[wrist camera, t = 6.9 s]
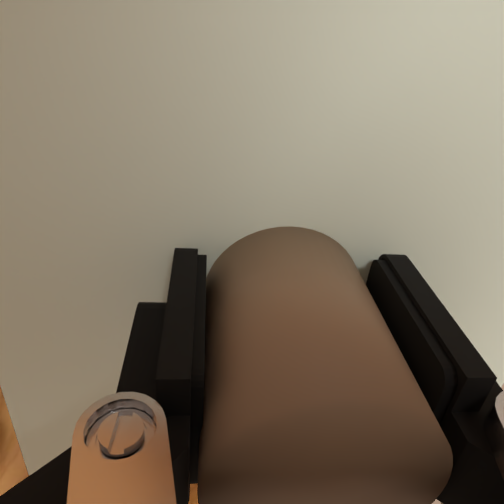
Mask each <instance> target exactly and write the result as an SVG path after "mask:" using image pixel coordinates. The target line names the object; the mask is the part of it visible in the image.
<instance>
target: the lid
mask: <svg viewBox="0 0 504 504" xmlns="http://www.w3.org/2000/svg"><path fill="white" fill-rule="evenodd" d="M175 248H197V249H198V255H207V269H206V321H205V371H204V403H203V427H202V430H201V432H200V439H199V458H198V492H197V493H198V503H199V504H432V503H433V502H434V501H435V499H436V498H437V497H438V496H439V495H440V494H441V492H442V491H443V489H444V488H445V486H446V484H447V482H448V480H449V478H450V475H451V471H452V467H453V455H452V450H451V446H450V444H449V442H448V441H447V439H446V437H445V435H444V433H443V431H442V429H441V427H440V425H439V423H438V421H437V419H436V418H435V416H434V414H433V412H432V410H431V408H430V406H429V404H428V402H427V400H426V399H425V397H424V395H423V393H422V391H421V389H420V387H419V385H418V383H417V381H416V380H415V378H414V376H413V374H412V372H411V370H410V368H409V366H408V364H407V362H406V360H405V359H404V357H403V355H402V353H401V351H400V349H399V347H398V345H397V343H396V341H395V340H394V338H393V336H392V334H391V332H390V330H389V328H388V326H387V324H386V322H385V320H384V319H383V317H382V315H381V313H380V311H379V309H378V307H377V305H376V303H375V301H374V300H373V298H372V296H371V294H370V292H369V290H368V288H367V286H366V281H367V278H368V274H369V270H370V267H371V264H372V262H373V260H378V259H379V257H380V256H381V255H382V254H399V255H406V256H407V257H408V258H409V259H410V260H411V262H412V263H413V264H414V266H415V267H416V269H417V270H418V271H419V273H420V274H421V275H422V277H423V278H424V279H425V281H426V282H427V283H428V285H429V286H430V287H431V289H432V290H433V292H434V293H435V294H436V296H437V297H438V298H439V300H440V301H441V302H442V304H443V305H444V306H445V308H446V309H447V310H448V312H449V313H450V315H451V316H452V317H453V319H454V320H455V321H456V323H457V324H458V325H459V327H460V328H461V329H462V331H463V332H464V334H465V335H466V336H467V338H468V339H469V340H470V342H471V343H472V344H473V346H474V347H475V348H476V350H477V351H478V352H479V354H480V355H481V357H482V358H483V359H484V361H485V362H486V363H487V365H488V366H489V367H490V369H491V370H492V371H493V373H494V374H495V376H496V377H497V379H496V382H497V383H498V384H499V386H500V387H502V385H503V383H504V0H0V386H1V389H2V392H3V396H4V399H5V402H6V405H7V408H8V411H9V414H10V418H11V421H12V424H13V427H14V430H15V433H16V436H17V440H18V443H19V446H20V449H21V452H22V455H23V458H24V462H25V465H26V468H27V471H28V474H29V475H31V474H33V473H34V472H36V471H37V470H38V469H40V468H41V467H43V466H44V465H45V464H47V463H48V462H50V461H51V460H53V459H54V458H55V457H57V456H58V455H60V454H61V453H63V452H64V451H65V450H67V449H68V448H70V447H71V446H72V437H73V432H74V429H75V425H76V422H77V421H78V419H79V418H80V416H81V415H82V413H83V412H84V411H85V410H86V409H87V408H88V407H90V406H91V405H92V404H93V403H94V402H96V401H98V400H100V399H102V398H103V397H105V396H108V395H111V394H115V393H116V391H117V387H118V383H119V378H120V374H121V370H122V366H123V362H124V357H125V353H126V349H127V345H128V341H129V337H130V332H131V328H132V324H133V320H134V316H135V311H136V308H137V304H138V303H139V302H167V297H168V290H169V284H170V277H171V270H172V263H173V256H174V250H175Z"/></svg>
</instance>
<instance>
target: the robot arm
mask: <svg viewBox="0 0 504 504" xmlns="http://www.w3.org/2000/svg"><path fill="white" fill-rule="evenodd" d="M206 269H207V255H198V249H197V248H175V250H174V256H173V263H172V270H171V277H170V284H169V290H168V297H167V302H139V303H138V304H137V308H136V311H135V316H134V320H133V324H132V328H131V332H130V337H129V341H128V345H127V349H126V353H125V357H124V362H123V366H122V370H121V374H120V378H119V383H118V387H117V391H116V393H115V394H111V395H108V396H105V397H103V398H102V399H100V400H98V401H96V402H94V403H93V404H92V405H91V406H90V407H88V408H87V409H86V410H85V411H84V412H83V413H82V415H81V416H80V418H79V419H78V421H77V422H76V425H75V429H74V432H73V437H72V446H71V447H70V448H68V449H67V450H65V451H64V452H63V453H61V454H60V455H58V456H57V457H55V458H54V459H53V460H51V461H50V462H48V463H47V464H45V465H44V466H43V467H41V468H40V469H38V470H37V471H36V472H34V473H33V474H31V475H30V476H28V477H27V478H26V479H24V480H23V481H21V482H20V483H18V484H17V485H16V486H14V487H13V488H11V489H10V490H8V491H7V492H6V493H4V494H3V495H1V496H0V504H188V501H189V493H190V484H196V483H198V458H199V439H200V432H201V430H202V427H203V403H204V371H205V321H206ZM366 286H367V288H368V290H369V292H370V294H371V296H372V298H373V300H374V301H375V303H376V305H377V307H378V309H379V311H380V313H381V315H382V317H383V319H384V320H385V322H386V324H387V326H388V328H389V330H390V332H391V334H392V336H393V338H394V340H395V341H396V343H397V345H398V347H399V349H400V351H401V353H402V355H403V357H404V359H405V360H406V362H407V364H408V366H409V368H410V370H411V372H412V374H413V376H414V378H415V380H416V381H417V383H418V385H419V387H420V389H421V391H422V393H423V395H424V397H425V399H426V400H427V402H428V404H429V406H430V408H431V410H432V412H433V414H434V416H435V418H436V419H437V421H438V423H439V425H440V427H441V429H442V431H443V433H444V435H445V437H446V439H447V441H448V442H449V444H450V446H451V450H452V455H453V467H452V471H451V475H450V478H449V480H448V482H447V484H446V486H445V488H444V489H443V491H442V492H441V494H440V495H439V496H438V497H437V498H436V499H437V500H439V501H440V502H441V504H504V391H503V390H502V389H501V387H500V386H499V384H498V383H497V382H496V379H497V377H496V376H495V374H494V373H493V371H492V370H491V369H490V367H489V366H488V365H487V363H486V362H485V361H484V359H483V358H482V357H481V355H480V354H479V352H478V351H477V350H476V348H475V347H474V346H473V344H472V343H471V342H470V340H469V339H468V338H467V336H466V335H465V334H464V332H463V331H462V329H461V328H460V327H459V325H458V324H457V323H456V321H455V320H454V319H453V317H452V316H451V315H450V313H449V312H448V310H447V309H446V308H445V306H444V305H443V304H442V302H441V301H440V300H439V298H438V297H437V296H436V294H435V293H434V292H433V290H432V289H431V287H430V286H429V285H428V283H427V282H426V281H425V279H424V278H423V277H422V275H421V274H420V273H419V271H418V270H417V269H416V267H415V266H414V264H413V263H412V262H411V260H410V259H409V258H408V257H407V256H406V255H399V254H382V255H381V256H380V257H379V259H378V260H373V262H372V264H371V267H370V270H369V274H368V278H367V281H366Z"/></svg>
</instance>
